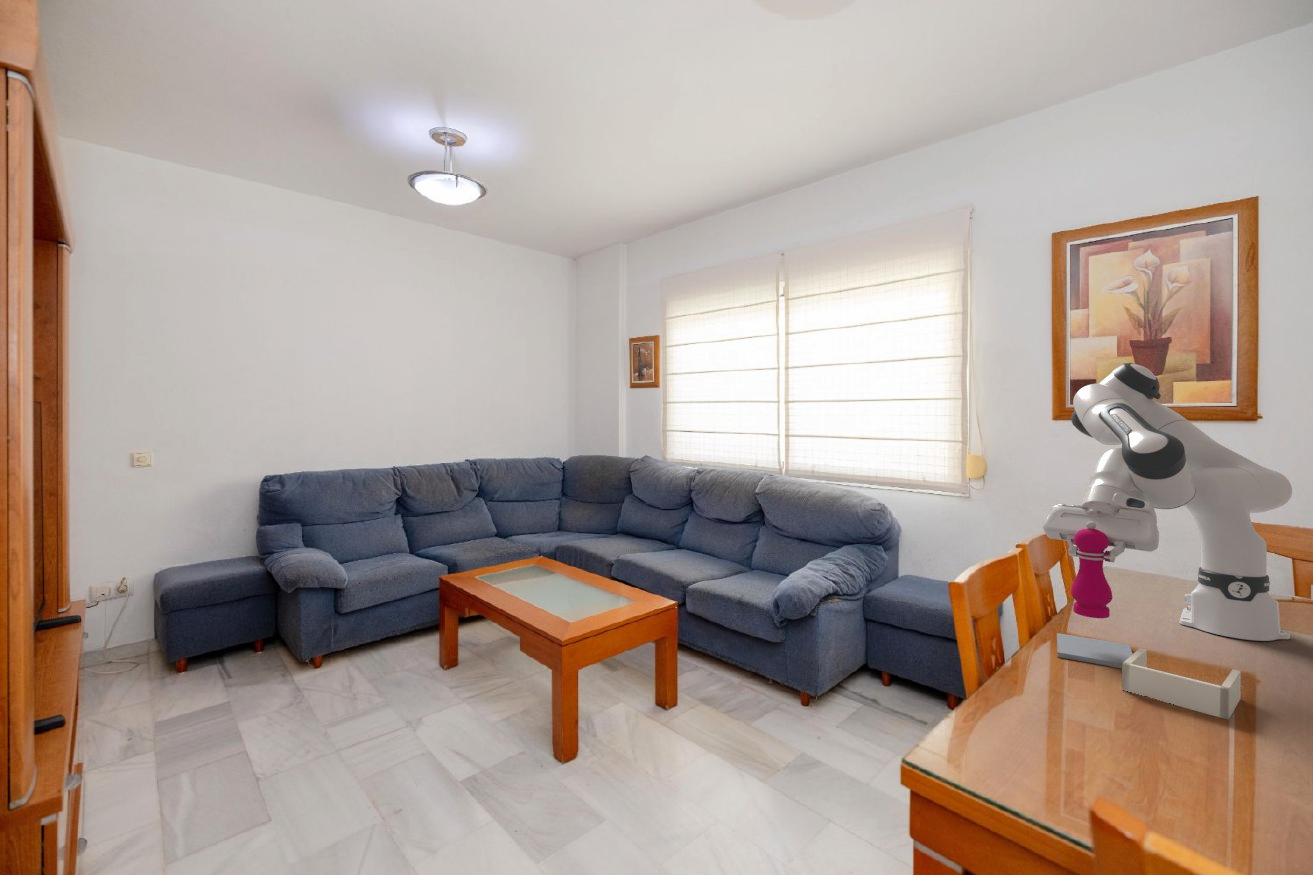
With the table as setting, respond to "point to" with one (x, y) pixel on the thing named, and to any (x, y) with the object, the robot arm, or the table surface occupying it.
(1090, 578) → the pepper mill
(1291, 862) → the table surface
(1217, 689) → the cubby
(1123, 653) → the pad
